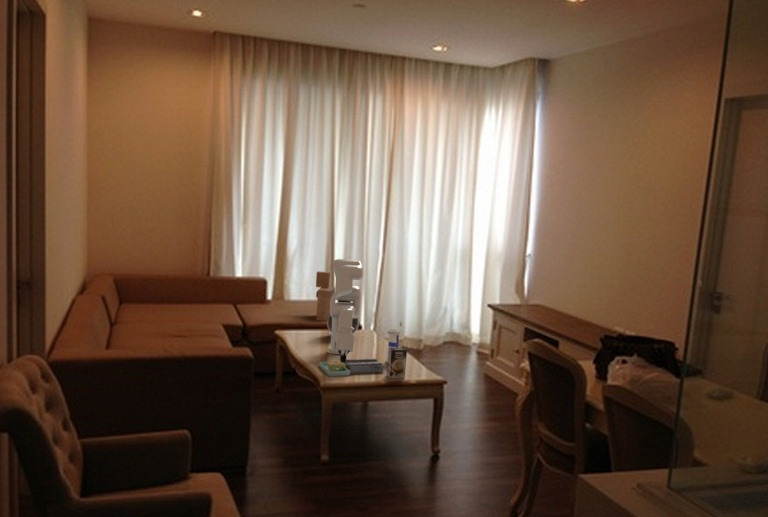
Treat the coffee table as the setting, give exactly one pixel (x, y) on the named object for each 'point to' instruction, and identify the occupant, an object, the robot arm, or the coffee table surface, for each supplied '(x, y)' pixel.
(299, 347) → the coffee table surface
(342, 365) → the tan wooden block
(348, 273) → the robot arm
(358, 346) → the coffee table surface
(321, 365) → the tray
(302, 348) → the coffee table surface
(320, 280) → the tan blocky figurine
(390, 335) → the water bottle
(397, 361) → the coffee box
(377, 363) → the grey flat channelled block
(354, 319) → the amphora vase
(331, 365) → the tan wooden cube
